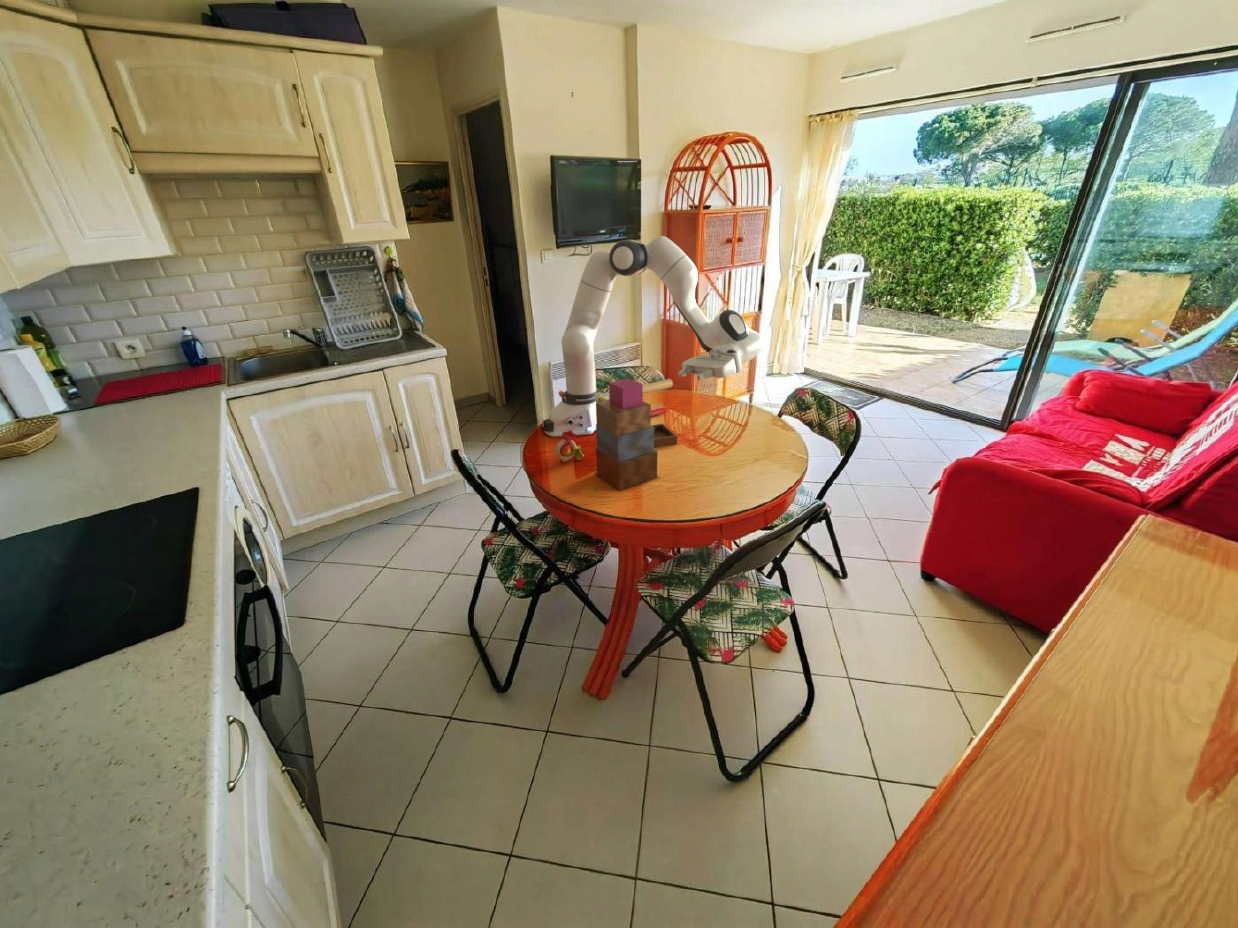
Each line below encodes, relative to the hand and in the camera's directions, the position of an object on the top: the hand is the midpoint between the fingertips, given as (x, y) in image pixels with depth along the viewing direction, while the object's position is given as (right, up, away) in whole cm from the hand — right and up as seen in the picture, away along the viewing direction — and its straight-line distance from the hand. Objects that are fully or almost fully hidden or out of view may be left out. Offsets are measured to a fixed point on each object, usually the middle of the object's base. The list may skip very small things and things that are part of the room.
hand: (689, 376), depth 160 cm
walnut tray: (-11, -19, +23) cm, 32 cm away
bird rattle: (-38, -27, +10) cm, 48 cm away
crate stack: (-20, -31, -1) cm, 37 cm away
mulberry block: (-15, -8, -8) cm, 19 cm away
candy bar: (-9, -9, +45) cm, 47 cm away
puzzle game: (-23, -4, +54) cm, 59 cm away
